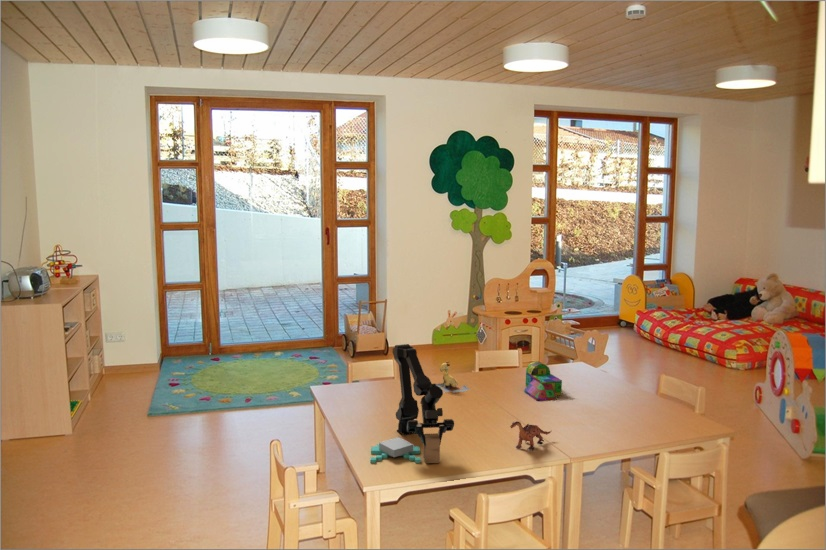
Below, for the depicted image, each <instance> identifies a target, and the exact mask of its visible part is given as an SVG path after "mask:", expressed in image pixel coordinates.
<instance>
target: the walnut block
mask: <svg viewBox="0 0 826 550" xmlns="http://www.w3.org/2000/svg"><path fill="white" fill-rule="evenodd" d="M424 437H425V443H426V446H424V445H423V459H424V463H425V464H440V457H441V455H440V454H441V453H440V452H441V450H440V449H441V444H440V438H439V435H438V432H437V433H424Z"/></svg>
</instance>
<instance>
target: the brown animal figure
mask: <svg viewBox="0 0 826 550" xmlns="http://www.w3.org/2000/svg"><path fill="white" fill-rule="evenodd" d="M516 426H518V429H519V432H518V441H517V442H518V443H517V445H516V446H515V447H514V448H515V449H517V450H521V449H522V448H523V447H522V444H523V441H525V442H524V443H527V442H529V447H528V448H527V450H529V451H533V450H535V447H534V445H535V443H534V438H535V437H536V438H537V439H538V441H537V442H536V444H537V445H543V444H544V442H545V440H544V437H543V436H542V435H546V436H547V435H549V434H551V432H552V430H550V431H546V430H545V431H544V430H543V429H541V428H540V427H539V425H537V424H535V425H534V424H529V423H527V424H526V425H525V426H524V427H523V426H522V423H521V422H520V421H512V423H511V425H510V429H513V428H515V427H516Z"/></svg>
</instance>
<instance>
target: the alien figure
mask: <svg viewBox="0 0 826 550" xmlns="http://www.w3.org/2000/svg"><path fill="white" fill-rule="evenodd" d="M412 444H413V443H412ZM420 450H421V449H420V446H419V445H417V446H416V445H414V444H413V452H410V453H406V454H403V455H400V456H399V457H403V459H409V461H411V462H413V461H414V463H415V464H421V461H422V459H421V458H422V457H418V456H417V457H416V455H419V454H421V451H420ZM370 454H371V455H375V456H374V457H370V458H369V460H370V464H377V461H378V462H379V461H380V462H382V459H388V457H391V456H390V455H388V454H387V453H385V452H383V451H381V450H379V443H378V444H376V446H371V447H370Z"/></svg>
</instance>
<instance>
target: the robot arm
mask: <svg viewBox="0 0 826 550" xmlns="http://www.w3.org/2000/svg"><path fill="white" fill-rule="evenodd" d="M417 354H418V353H417V349H416V348H415V346H411V345H410V344H409V343H406V344H396V345H394V346H393V348H392V355H393V358H394V361H395V362H396V364H397V365H398V372H399V381H400V383H399V384H400V391H401V398H400V400H399V403H398V409H397V411H396V412H395V418H396V420H398V424H397V425H398V426H397V427H398V429H396V432H398V433H400V434H402V435H404V436H408V435H410V434H415V435H417V436H418V437H419V439H420V440H421V443H422V445H423V447H424V446H426V443H425V437H424V434H425V431H424V429H428V428H430V429H433V428H435V429H436V428H438V431H437V433H438V435H439V438H440V445H441V443H442V438H443V434H445V433H446V432H451V431H453V430H454V427H455V421H454V420H453V418H450V419H449V418H445V419H443V421H442V422H438V421H439V417H443V408H442V407H438V408H436V404H437V403H439V401H440V400H441V398H442V397H443V394H444V393H443V392H444V390H441V389H442V387H441V388H440V387H438V386H436V384H437V383H432V381H431V378H429V377H428V376H427V375H425V373H424V372H425V371H424V370H423V368H422V365H421V362H420V359H419V357H418V355H417ZM411 376H412V377H413V384H412V378H411ZM412 386H413V387H412ZM413 392H414V394H415V395H416V396H418V397H421V399H420V402H419V404H420V407H421V414H422V415H421V416H422V422H419V421H418V417H419V412H420V408H419V405H418V400H417V399H415V397H414V396H413Z"/></svg>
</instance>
